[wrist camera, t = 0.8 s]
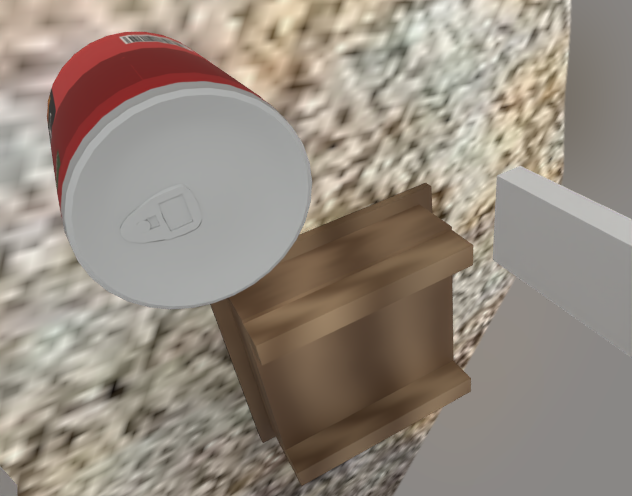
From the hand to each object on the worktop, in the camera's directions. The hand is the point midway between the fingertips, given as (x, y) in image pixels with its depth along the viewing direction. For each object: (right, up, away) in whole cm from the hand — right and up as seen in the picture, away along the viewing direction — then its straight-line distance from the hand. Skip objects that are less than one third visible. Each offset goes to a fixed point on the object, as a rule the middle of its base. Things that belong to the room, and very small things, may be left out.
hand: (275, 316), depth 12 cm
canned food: (-8, +8, +13) cm, 17 cm away
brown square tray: (+3, -3, +25) cm, 26 cm away
